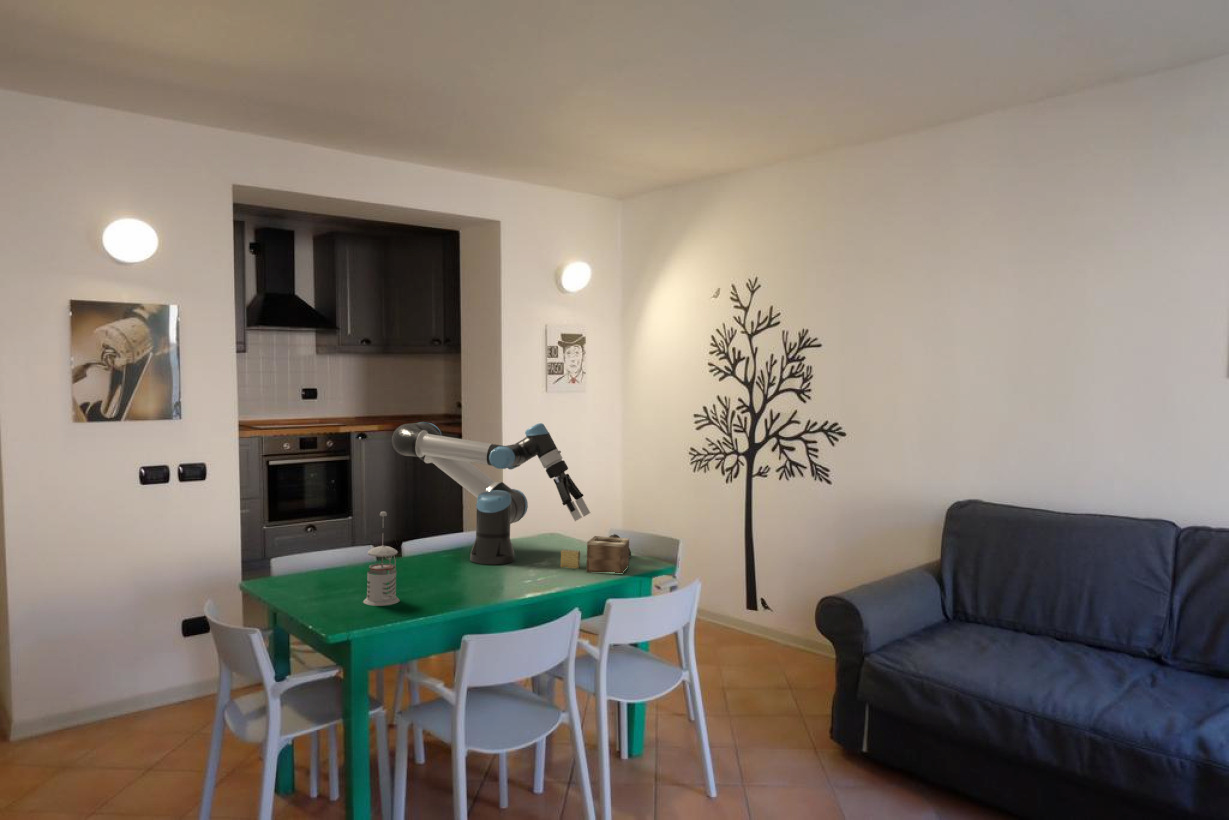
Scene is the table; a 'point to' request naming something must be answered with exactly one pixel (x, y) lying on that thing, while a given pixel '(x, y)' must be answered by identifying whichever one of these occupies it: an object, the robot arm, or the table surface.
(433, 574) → the table surface
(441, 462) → the robot arm
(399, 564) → the table surface
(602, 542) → the coin box
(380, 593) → the french press
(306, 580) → the table surface
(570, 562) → the yellow flat block
